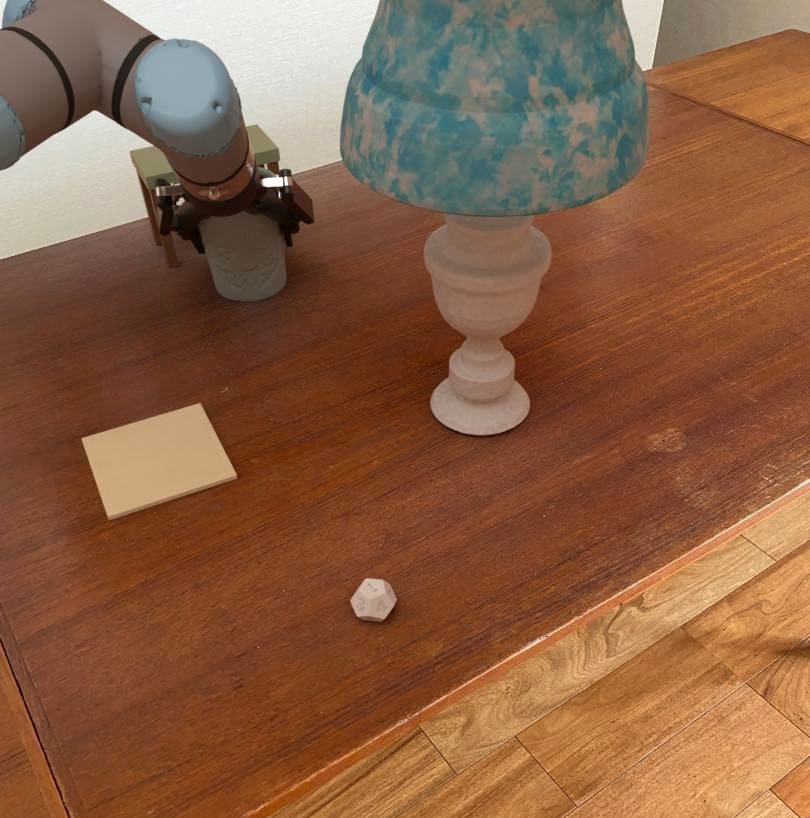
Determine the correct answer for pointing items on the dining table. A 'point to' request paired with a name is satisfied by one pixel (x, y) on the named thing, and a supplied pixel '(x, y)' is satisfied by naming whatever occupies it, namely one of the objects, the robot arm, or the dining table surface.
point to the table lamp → (493, 157)
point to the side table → (157, 166)
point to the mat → (157, 460)
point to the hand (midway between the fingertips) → (245, 239)
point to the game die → (373, 600)
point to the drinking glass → (245, 254)
